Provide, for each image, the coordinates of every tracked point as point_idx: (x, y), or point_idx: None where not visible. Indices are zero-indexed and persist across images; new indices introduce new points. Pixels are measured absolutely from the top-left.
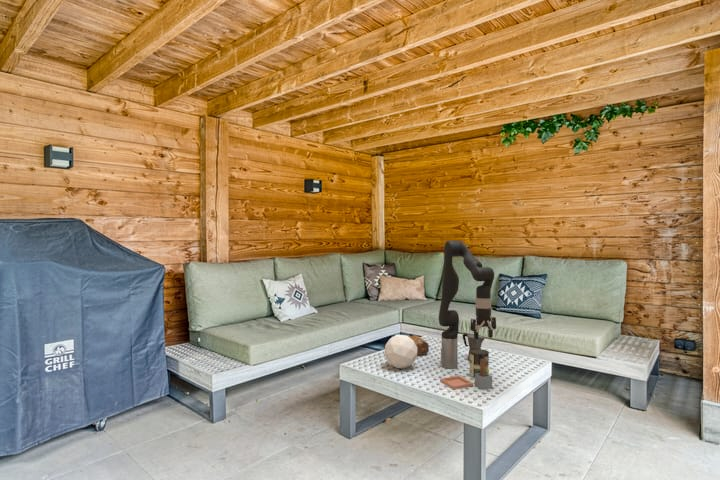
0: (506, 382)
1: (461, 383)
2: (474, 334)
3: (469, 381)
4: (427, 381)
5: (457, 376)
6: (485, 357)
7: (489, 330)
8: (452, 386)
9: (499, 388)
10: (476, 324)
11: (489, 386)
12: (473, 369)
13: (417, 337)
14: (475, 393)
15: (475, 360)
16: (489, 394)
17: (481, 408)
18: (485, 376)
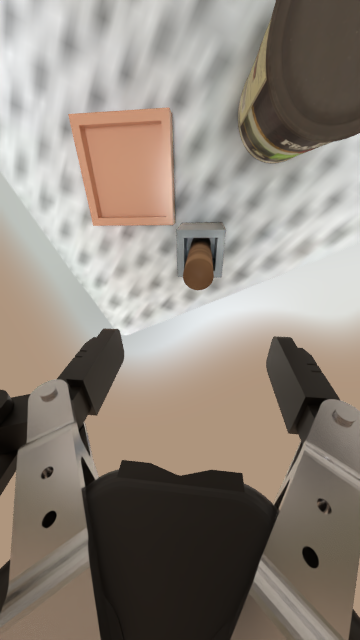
0: (318, 226)
1: (147, 184)
2: (72, 369)
3: (169, 205)
4: (28, 68)
5: (154, 119)
6: (321, 143)
7: (296, 412)
8: (93, 219)
9: (248, 262)
10: (27, 499)
11: None
12: (246, 113)
13: None
14: (155, 265)
15: (261, 111)
16: None
17: (123, 334)
18: None
